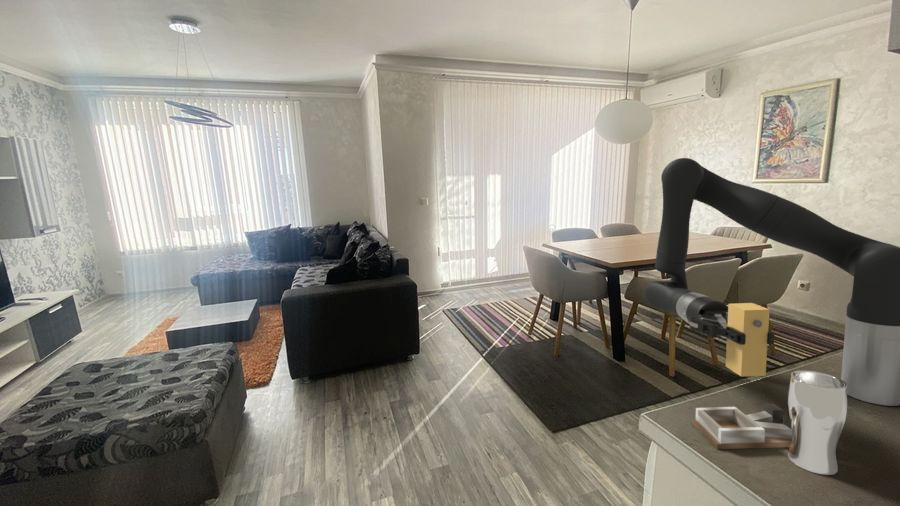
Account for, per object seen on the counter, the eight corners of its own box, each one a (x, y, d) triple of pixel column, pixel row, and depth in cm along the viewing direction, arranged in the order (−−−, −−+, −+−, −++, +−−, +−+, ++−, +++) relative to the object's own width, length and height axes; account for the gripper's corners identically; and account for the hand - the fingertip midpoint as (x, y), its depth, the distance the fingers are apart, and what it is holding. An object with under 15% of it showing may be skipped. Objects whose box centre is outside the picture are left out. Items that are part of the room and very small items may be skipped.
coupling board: (773, 421, 75) (774, 402, 74) (809, 446, 67) (810, 426, 67) (691, 423, 76) (692, 405, 75) (716, 449, 68) (717, 428, 67)
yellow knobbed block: (746, 364, 76) (749, 302, 74) (767, 377, 70) (772, 310, 68) (723, 364, 76) (726, 302, 74) (743, 378, 70) (746, 311, 69)
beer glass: (783, 444, 68) (788, 366, 66) (838, 459, 64) (845, 376, 62) (785, 466, 63) (790, 382, 61) (845, 484, 59) (852, 394, 57)
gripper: (670, 297, 86) (718, 321, 69) (735, 294, 85) (800, 318, 68) (669, 328, 87) (716, 359, 70) (733, 326, 86) (797, 357, 69)
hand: (757, 339), depth 69 cm, fingers closed on yellow knobbed block, 4 cm apart
